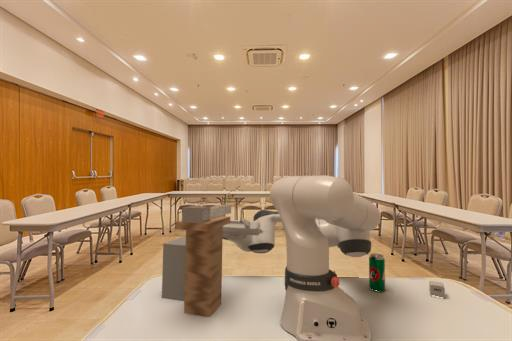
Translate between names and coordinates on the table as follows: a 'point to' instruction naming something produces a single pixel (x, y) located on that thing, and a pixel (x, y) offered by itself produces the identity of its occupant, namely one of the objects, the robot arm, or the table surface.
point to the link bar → (203, 213)
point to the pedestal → (174, 269)
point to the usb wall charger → (437, 289)
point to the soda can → (377, 272)
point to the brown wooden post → (203, 265)
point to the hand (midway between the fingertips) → (230, 219)
